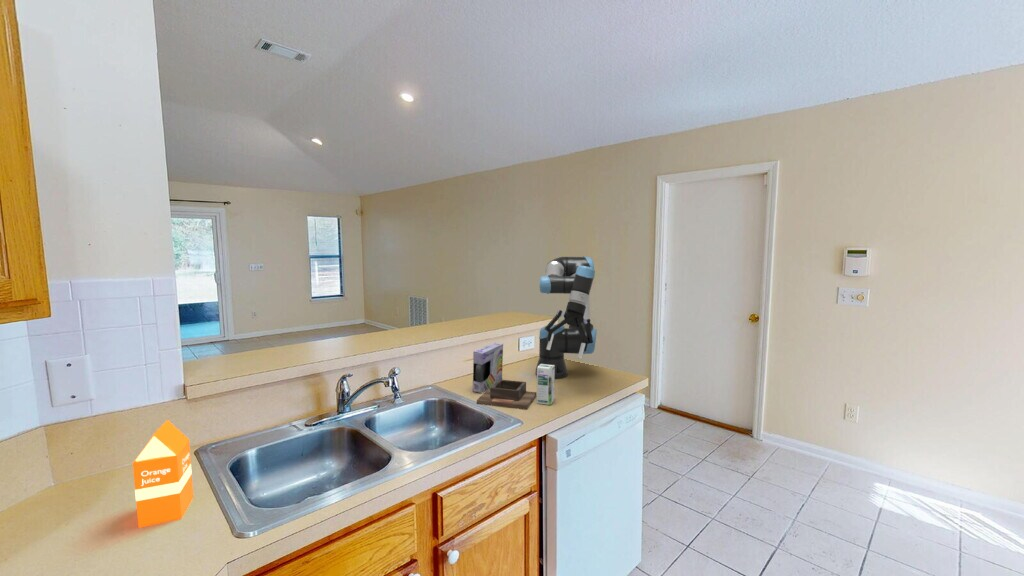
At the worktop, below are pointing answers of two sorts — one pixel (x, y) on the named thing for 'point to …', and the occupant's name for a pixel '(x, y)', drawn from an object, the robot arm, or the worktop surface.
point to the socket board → (508, 395)
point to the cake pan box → (487, 366)
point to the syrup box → (545, 384)
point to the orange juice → (163, 477)
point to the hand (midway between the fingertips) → (563, 354)
